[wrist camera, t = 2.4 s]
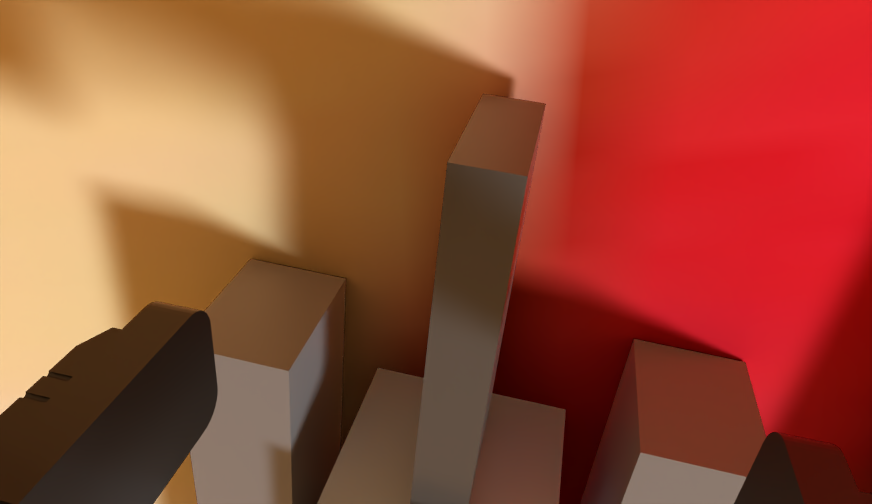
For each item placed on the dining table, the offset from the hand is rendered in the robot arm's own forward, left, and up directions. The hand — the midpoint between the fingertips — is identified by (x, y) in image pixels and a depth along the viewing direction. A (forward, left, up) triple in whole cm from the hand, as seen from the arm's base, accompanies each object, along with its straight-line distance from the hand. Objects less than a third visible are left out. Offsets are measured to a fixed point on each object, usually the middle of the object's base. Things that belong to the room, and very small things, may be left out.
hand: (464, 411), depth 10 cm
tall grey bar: (+8, 0, -6) cm, 10 cm away
